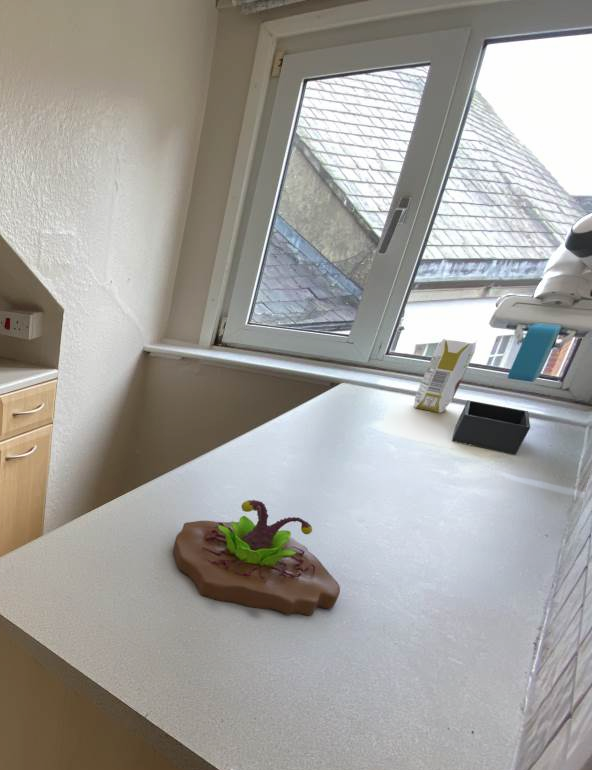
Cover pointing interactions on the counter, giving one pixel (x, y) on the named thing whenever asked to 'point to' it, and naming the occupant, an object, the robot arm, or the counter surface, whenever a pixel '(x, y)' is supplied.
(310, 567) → the plant
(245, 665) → the counter surface
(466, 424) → the box
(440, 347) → the juice carton
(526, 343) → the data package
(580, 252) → the robot arm
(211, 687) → the counter surface
